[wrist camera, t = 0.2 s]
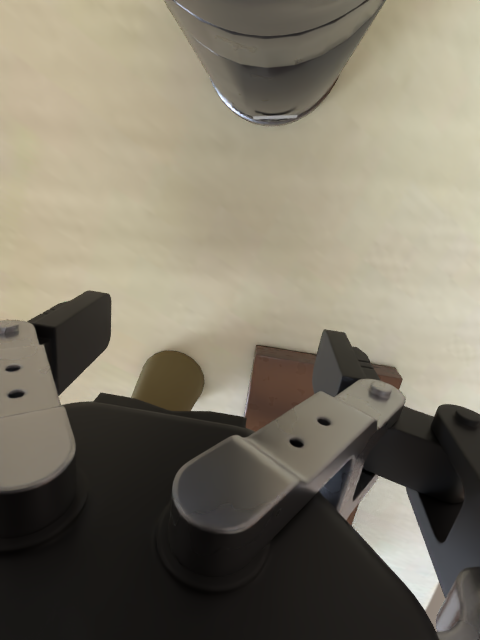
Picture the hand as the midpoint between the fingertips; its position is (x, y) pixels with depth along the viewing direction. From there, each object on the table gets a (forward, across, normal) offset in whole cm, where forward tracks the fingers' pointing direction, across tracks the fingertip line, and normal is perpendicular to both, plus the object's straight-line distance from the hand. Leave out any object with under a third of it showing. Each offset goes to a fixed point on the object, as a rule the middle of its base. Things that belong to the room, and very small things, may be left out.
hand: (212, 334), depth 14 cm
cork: (+18, +5, +13) cm, 22 cm away
